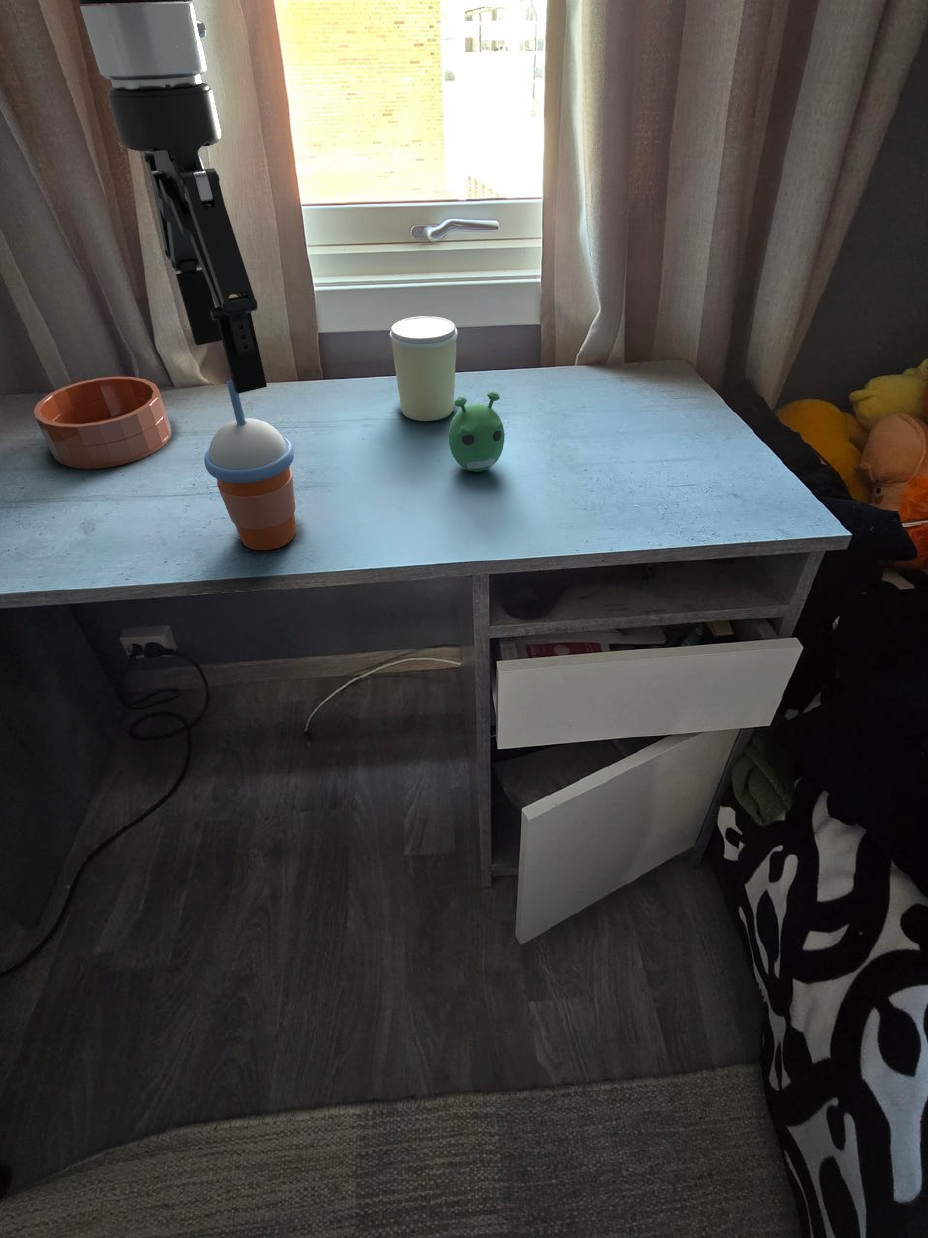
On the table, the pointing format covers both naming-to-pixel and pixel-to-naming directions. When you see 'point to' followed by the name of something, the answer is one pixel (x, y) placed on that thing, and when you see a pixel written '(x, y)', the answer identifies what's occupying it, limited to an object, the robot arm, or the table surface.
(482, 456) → the alien toy
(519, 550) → the table surface
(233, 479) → the cup with straw
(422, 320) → the coffee cup
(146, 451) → the bowl
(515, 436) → the table surface
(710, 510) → the table surface
